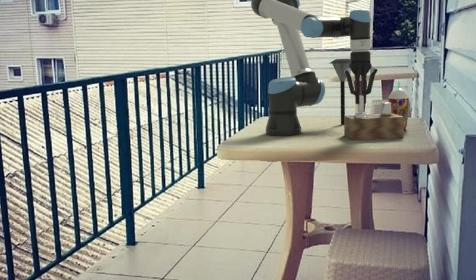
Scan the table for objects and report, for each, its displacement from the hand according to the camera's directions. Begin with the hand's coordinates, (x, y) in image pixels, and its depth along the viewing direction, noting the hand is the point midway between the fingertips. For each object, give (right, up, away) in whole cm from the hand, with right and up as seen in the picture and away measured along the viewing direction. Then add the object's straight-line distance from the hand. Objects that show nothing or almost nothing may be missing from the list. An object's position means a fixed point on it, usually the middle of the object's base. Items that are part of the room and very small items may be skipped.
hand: (360, 112), depth 206 cm
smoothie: (+20, -7, +16) cm, 26 cm away
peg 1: (0, -8, +1) cm, 8 cm away
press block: (+5, -9, +2) cm, 11 cm away
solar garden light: (+1, -4, +38) cm, 39 cm away
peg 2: (+10, -4, +1) cm, 11 cm away
